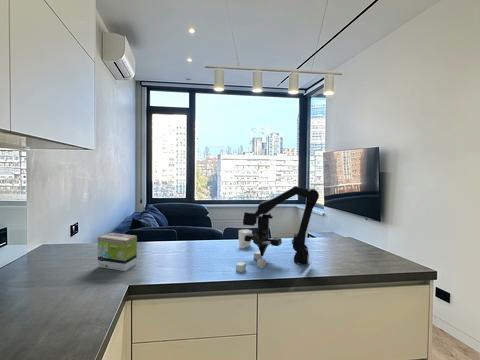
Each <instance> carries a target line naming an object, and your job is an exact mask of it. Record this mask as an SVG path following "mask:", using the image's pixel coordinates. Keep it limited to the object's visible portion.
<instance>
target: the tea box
mask: <svg viewBox="0 0 480 360" xmlns="http://www.w3.org/2000/svg"><path fill="white" fill-rule="evenodd" d="M137 245H138V236H137V235H131V234H125V233H118V232H116V233H115V232H109V233H106V234H104V235H101V236H98V237H97V268H101V269H102V268H103V269H110V270H116V271H121V272H126V271H128V270H130V269H131V268H133V267H135V266H136V265H137V258H138V256H137V254H138V252H137V250H138V248H137V247H138V246H137Z"/></svg>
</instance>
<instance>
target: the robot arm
mask: <svg viewBox="0 0 480 360" xmlns="http://www.w3.org/2000/svg"><path fill="white" fill-rule="evenodd" d="M319 194H320V193H319V192H318V190H317V189H315V188H309V189H308V188H306V187H299V186H298V185H294V186H292V187H291V188H289V189H288V190H286V191H284V192H282V193H281V194H278V195H277V196H275V197H273V198H270V199H267V200H263V201H261V202H260V203H259V204H258V205H257V209H256V210H255V211H254V212H250V211H249V212H248V211H245V212H244V213H243V221H242V224H243V226H251V227H253V226H254V227H255V226H256V225H257V228H256V231H255V233H254V234H253V233H252V234H248V235H246V236H245V238H244V241H248V242H250V241H251V242H252V243H253V244H254V245H256V246H257V248H258V250H259V252H260V253H261V256H262V257H264V256H265V253H266V251H267V249H268V246H270V245H271V246H272V247H279V246H281V244H283V243H282V242H283V241H282V238H280V237H273V238H270V235H269V233H270V219H273V218H274V216H273V215H272V214H271V211H272V210H273V209H274V208H275V207H276V206H278V205H279V204H282V203H283V202H285V201H287V200H289V199H290V198H292V197H294V196H301V197H302V198H305V207H304V209H303V210H304V211H303V213H302V217H301V221H300V224H299V227H298V231H297V233H293V238H292V239H291V244H292V249H293V250H294V251H295V253H294V255H293V263H295V264H298V265H303V266H304V265H308V264H309V262H310V261H309V258H310V254H309V248H308V247H307V245H306V234H307V230H308V227H309V223H310V219H311V216H312V213H313V209H314V207H315V205H316V204H317V202H318V199H319V198H320V195H319Z"/></svg>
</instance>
